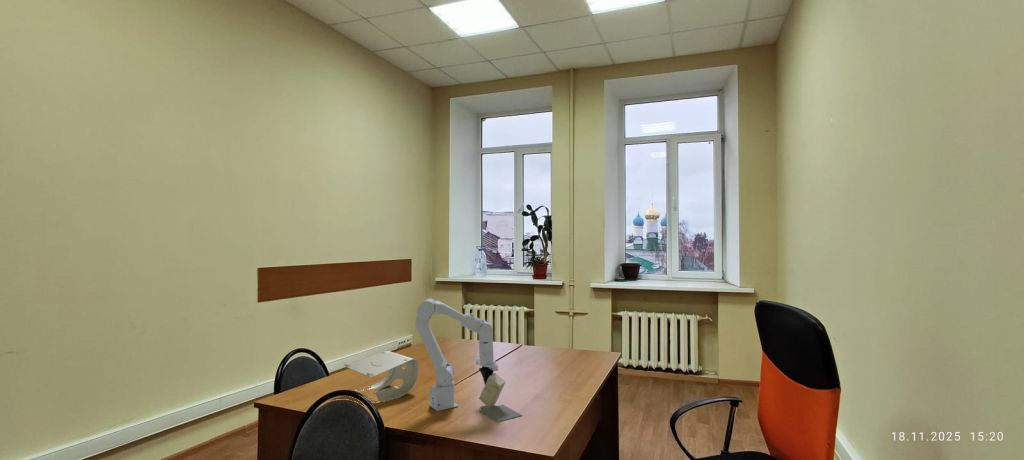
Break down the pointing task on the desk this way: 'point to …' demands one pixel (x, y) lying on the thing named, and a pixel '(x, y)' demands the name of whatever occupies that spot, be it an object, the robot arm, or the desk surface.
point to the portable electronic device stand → (395, 367)
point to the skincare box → (492, 390)
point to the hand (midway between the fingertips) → (487, 385)
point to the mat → (500, 413)
